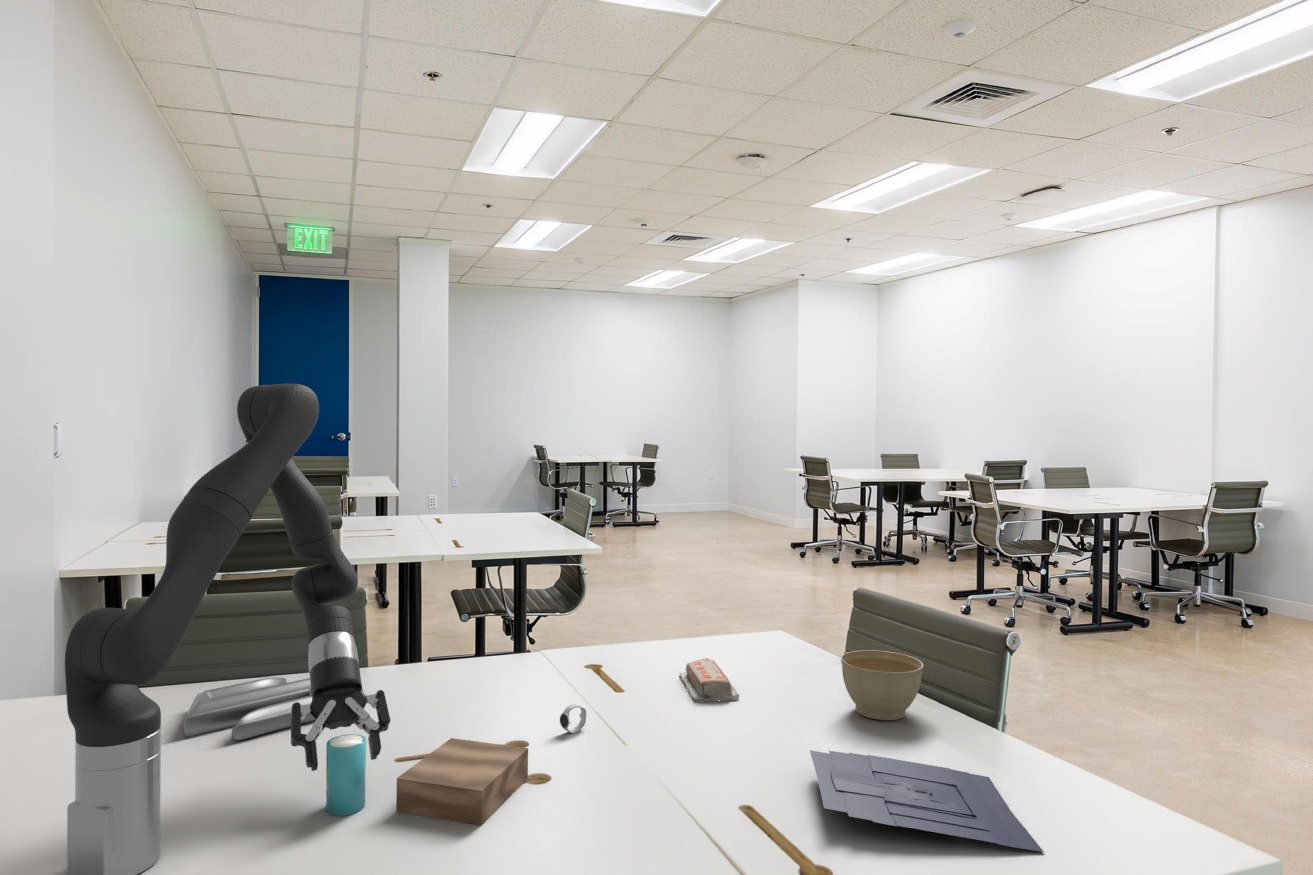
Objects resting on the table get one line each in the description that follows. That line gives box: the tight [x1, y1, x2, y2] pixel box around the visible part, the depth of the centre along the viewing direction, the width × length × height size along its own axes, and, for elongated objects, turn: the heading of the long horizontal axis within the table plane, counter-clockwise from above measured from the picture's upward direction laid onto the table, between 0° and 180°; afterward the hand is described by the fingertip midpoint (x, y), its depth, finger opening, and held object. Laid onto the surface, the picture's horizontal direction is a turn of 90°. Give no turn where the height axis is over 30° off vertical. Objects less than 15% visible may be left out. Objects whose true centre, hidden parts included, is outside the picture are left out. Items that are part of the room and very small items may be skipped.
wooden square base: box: [395, 737, 529, 826], centre depth 126 cm, size 16×14×5 cm
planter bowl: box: [840, 649, 924, 721], centre depth 164 cm, size 16×16×11 cm
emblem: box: [183, 676, 317, 741], centre depth 158 cm, size 28×5×28 cm
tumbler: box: [325, 733, 367, 817], centre depth 121 cm, size 6×6×10 cm
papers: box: [809, 750, 1045, 853], centre depth 124 cm, size 24×30×4 cm
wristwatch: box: [559, 703, 587, 734], centre depth 152 cm, size 3×5×5 cm, turn 135°
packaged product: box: [679, 657, 740, 703], centre depth 179 cm, size 18×5×10 cm
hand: (345, 762), depth 122 cm, fingers open, 8 cm apart
